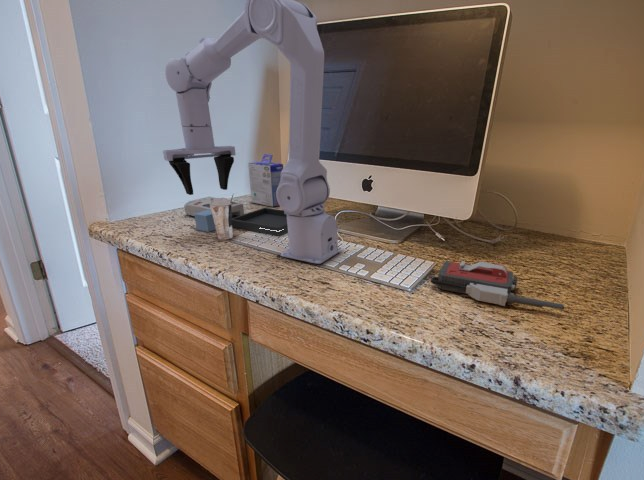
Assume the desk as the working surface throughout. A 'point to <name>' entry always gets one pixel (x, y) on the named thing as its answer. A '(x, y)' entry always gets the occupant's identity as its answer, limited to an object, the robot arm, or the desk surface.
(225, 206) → the milkshake
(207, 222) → the blue block
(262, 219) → the tray
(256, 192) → the ink cartridge box
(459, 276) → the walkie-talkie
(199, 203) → the handheld gaming device
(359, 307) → the desk surface
